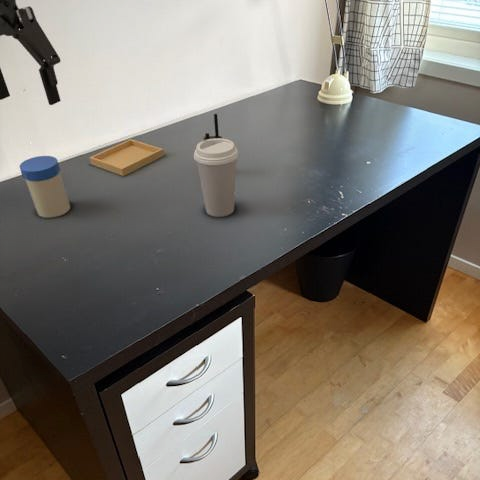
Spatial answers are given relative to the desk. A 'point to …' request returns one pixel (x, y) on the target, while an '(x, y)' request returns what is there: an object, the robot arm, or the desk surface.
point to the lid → (39, 168)
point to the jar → (49, 196)
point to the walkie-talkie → (215, 130)
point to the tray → (126, 157)
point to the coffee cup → (217, 174)
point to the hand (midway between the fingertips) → (29, 100)
